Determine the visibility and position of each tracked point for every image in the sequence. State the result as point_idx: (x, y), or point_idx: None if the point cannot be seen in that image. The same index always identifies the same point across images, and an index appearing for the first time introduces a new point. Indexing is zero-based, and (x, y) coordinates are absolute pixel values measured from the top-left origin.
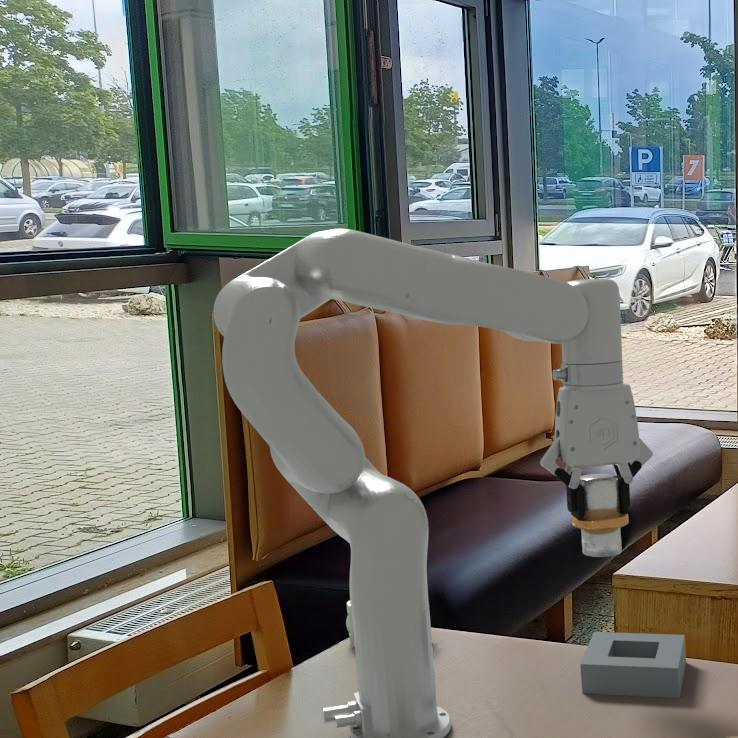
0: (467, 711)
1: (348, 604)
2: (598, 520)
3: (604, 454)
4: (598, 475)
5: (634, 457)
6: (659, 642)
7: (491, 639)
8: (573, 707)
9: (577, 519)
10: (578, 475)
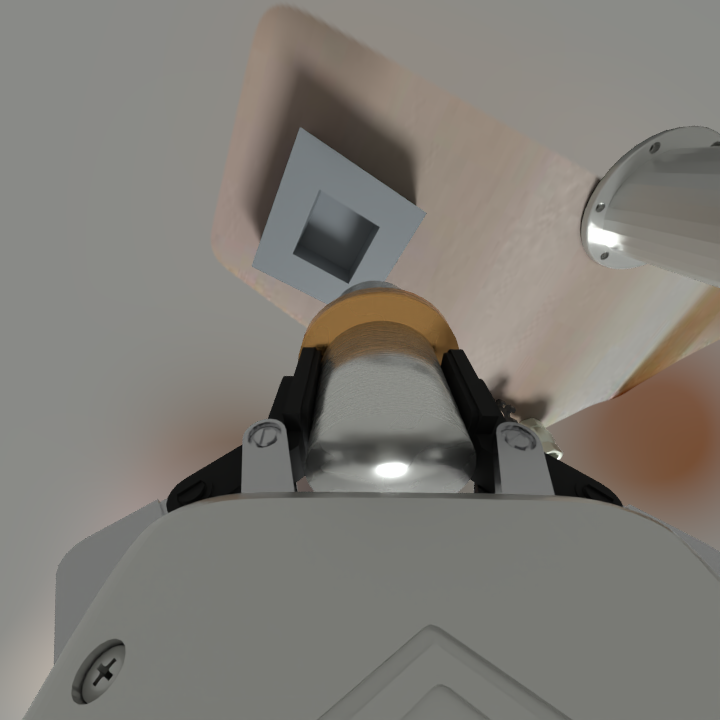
0: (546, 233)
1: (561, 455)
2: (409, 324)
3: (421, 569)
4: None
5: (180, 517)
6: (293, 251)
7: None
8: (433, 193)
9: None
10: (511, 471)
